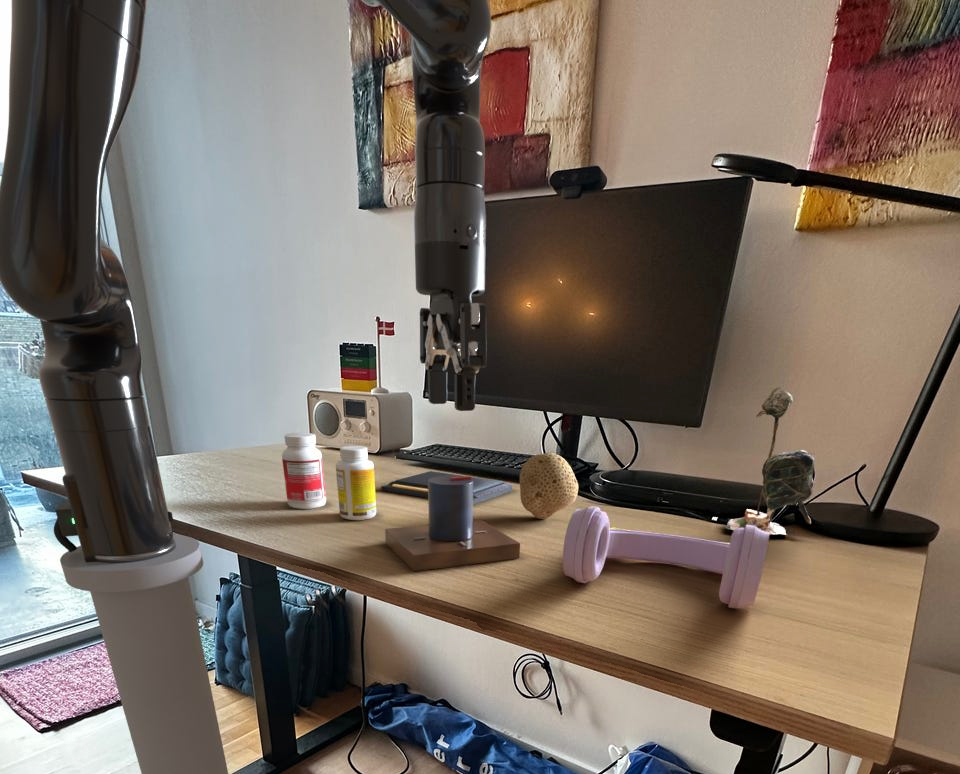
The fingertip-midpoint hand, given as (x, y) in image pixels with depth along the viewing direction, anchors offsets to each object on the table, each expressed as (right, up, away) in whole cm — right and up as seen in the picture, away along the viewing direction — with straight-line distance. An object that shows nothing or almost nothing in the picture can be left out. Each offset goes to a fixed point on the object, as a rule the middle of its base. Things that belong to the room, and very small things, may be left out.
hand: (450, 407), depth 71 cm
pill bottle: (-25, -5, +28) cm, 38 cm away
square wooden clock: (0, -16, +8) cm, 18 cm away
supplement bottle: (-15, -8, +22) cm, 28 cm away
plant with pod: (+46, -12, +19) cm, 51 cm away
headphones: (+25, -20, +1) cm, 32 cm away
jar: (0, -14, +7) cm, 15 cm away
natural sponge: (+14, -9, +23) cm, 29 cm away
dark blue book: (-2, 0, +40) cm, 40 cm away
